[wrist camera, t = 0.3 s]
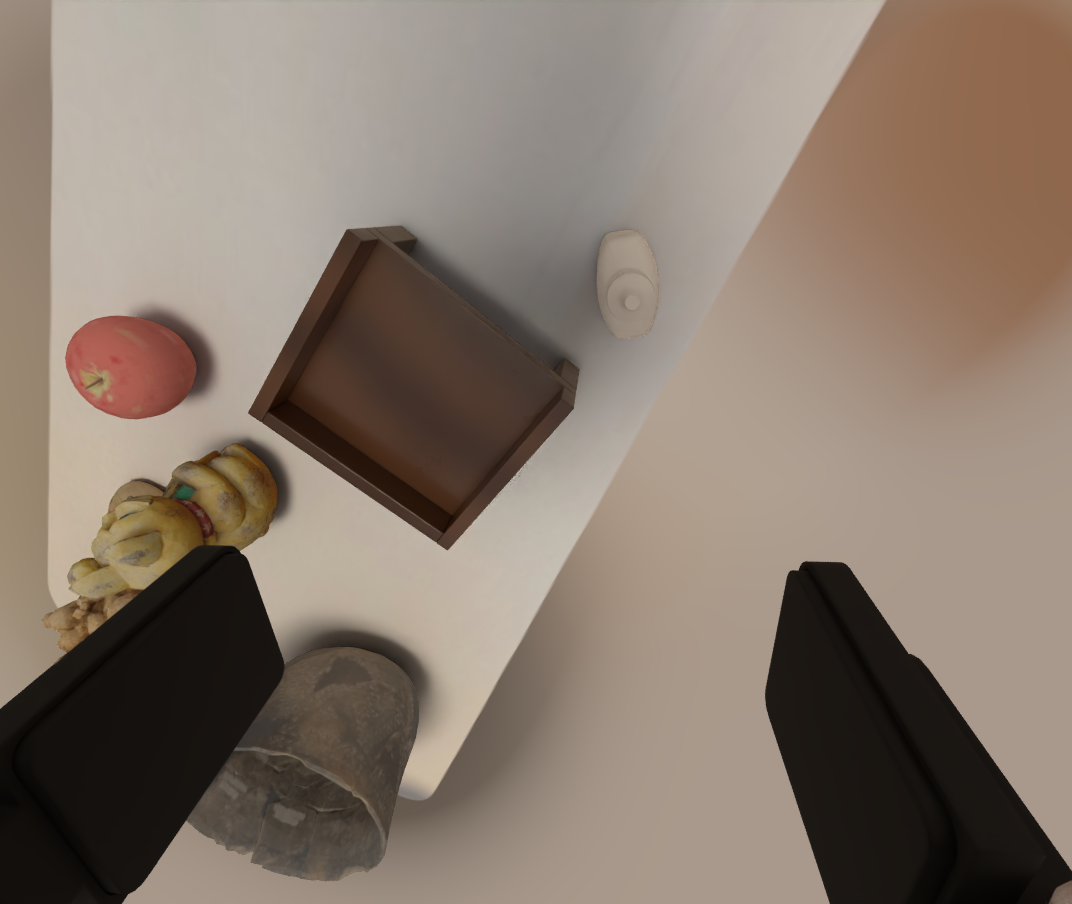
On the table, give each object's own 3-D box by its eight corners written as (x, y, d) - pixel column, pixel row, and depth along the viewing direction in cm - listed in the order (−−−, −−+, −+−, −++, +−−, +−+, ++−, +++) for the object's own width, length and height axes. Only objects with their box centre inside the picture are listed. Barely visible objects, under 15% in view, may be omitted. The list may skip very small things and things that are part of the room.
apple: (218, 408, 43) (142, 448, 36) (134, 383, 43) (40, 417, 36) (217, 323, 40) (133, 347, 33) (126, 295, 40) (22, 314, 33)
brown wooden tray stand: (401, 224, 35) (346, 228, 28) (579, 369, 38) (574, 408, 31) (312, 376, 41) (247, 413, 33) (474, 492, 44) (447, 550, 36)
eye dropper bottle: (671, 244, 34) (703, 260, 23) (635, 325, 36) (649, 372, 26) (609, 220, 34) (613, 224, 23) (577, 302, 36) (567, 340, 25)
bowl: (307, 727, 60) (221, 877, 47) (252, 611, 53) (132, 747, 40) (451, 729, 57) (405, 889, 44) (414, 606, 50) (344, 751, 37)
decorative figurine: (238, 418, 43) (73, 511, 30) (315, 482, 45) (194, 597, 32) (186, 484, 47) (19, 593, 34) (260, 541, 49) (130, 667, 35)
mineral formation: (229, 666, 57) (94, 646, 57) (227, 558, 53) (82, 537, 53) (179, 723, 49) (22, 700, 49) (171, 602, 45) (2, 577, 45)
